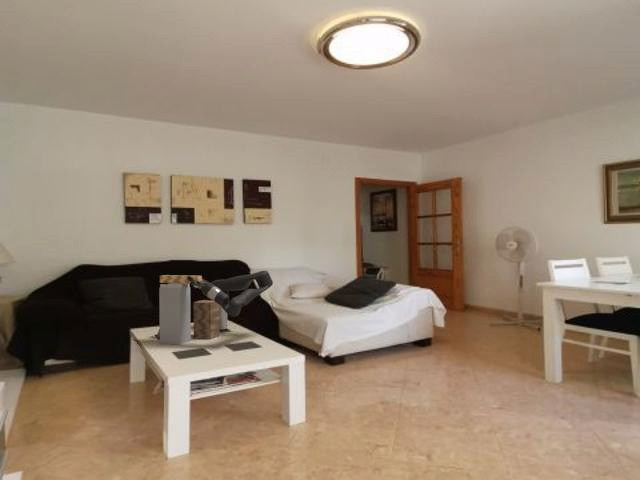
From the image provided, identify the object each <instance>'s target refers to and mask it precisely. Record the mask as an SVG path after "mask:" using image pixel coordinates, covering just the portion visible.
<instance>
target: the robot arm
mask: <svg viewBox="0 0 640 480" xmlns="http://www.w3.org/2000/svg"><path fill="white" fill-rule="evenodd" d="M187 276H188V277H187V280H189V281H190V283H189V285H190V286H192V287H193V288H194V290H195V289H197V288H198V289H199V290H201V293H202V294H203V295H204V296H206V297H207V299H210V300H213V301H215V302H216V303H218V304H219V308H220V330H221V331H222V330H226V329H228V315H229V316H230V317H238V316H239V315H240V313H241V310H242V307H244V306H245V307H246V306H247V305H248V304H249V303H251V301H253V299H255V298H256V297H258V296H260V295H261V294H262V293H264V292H265V291H267V290H269V289H270V288H271V287H272V286H273V283H274V282H273V280H272V279H273V278H272V277H271V274H270V273H269V271H268V270H261V271H257V272H253V273H249V274H244V275H238V276H233V277H230V278H227V279H215V280H213V281H212V282H210V281H208V280H206V279H204V278H202V280H201V282H200V281H198V280H197V281H196V280H195V279H193V278H192V277H190V276H191V275H187ZM192 276H195V275H194V274H193V275H192ZM253 281H255V282H256V285H257V286H258V288H249V286H250V285H251V283H252V282H253ZM197 282H198V283H197ZM232 291H235V292H236V291H237V292H238V291H243V292H241V293H240V294H239V295H237V296H235V297H232V298H231V300H230V296H229V292H232Z"/></svg>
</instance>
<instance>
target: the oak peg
mask: <svg viewBox="0 0 640 480" xmlns="http://www.w3.org/2000/svg"><path fill="white" fill-rule="evenodd" d="M188 276H190V277H192V278H193V279H195V280H196V281H197V280H198V281H200V282H201V280H202V279H203V277H202V275H194V276H193V275H175V274H174V275H170V274H165V275H164V274H162V275H159V283H161V284H163V283H164V284H168V283H179V284H190V281H189V280H187V277H188ZM197 283H198V282H197Z"/></svg>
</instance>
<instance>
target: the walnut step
mask: <svg viewBox="0 0 640 480" xmlns="http://www.w3.org/2000/svg"><path fill="white" fill-rule="evenodd" d="M192 305H193V339H199V340H213V339H216V338H219V337H220V335H221V334H220V333H221V331H220V308H219V304H218V303H216V302H215V301H213V300H211V299H210V300H208V299H203V300H201V299H200V300H197V301H193V304H192Z"/></svg>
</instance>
